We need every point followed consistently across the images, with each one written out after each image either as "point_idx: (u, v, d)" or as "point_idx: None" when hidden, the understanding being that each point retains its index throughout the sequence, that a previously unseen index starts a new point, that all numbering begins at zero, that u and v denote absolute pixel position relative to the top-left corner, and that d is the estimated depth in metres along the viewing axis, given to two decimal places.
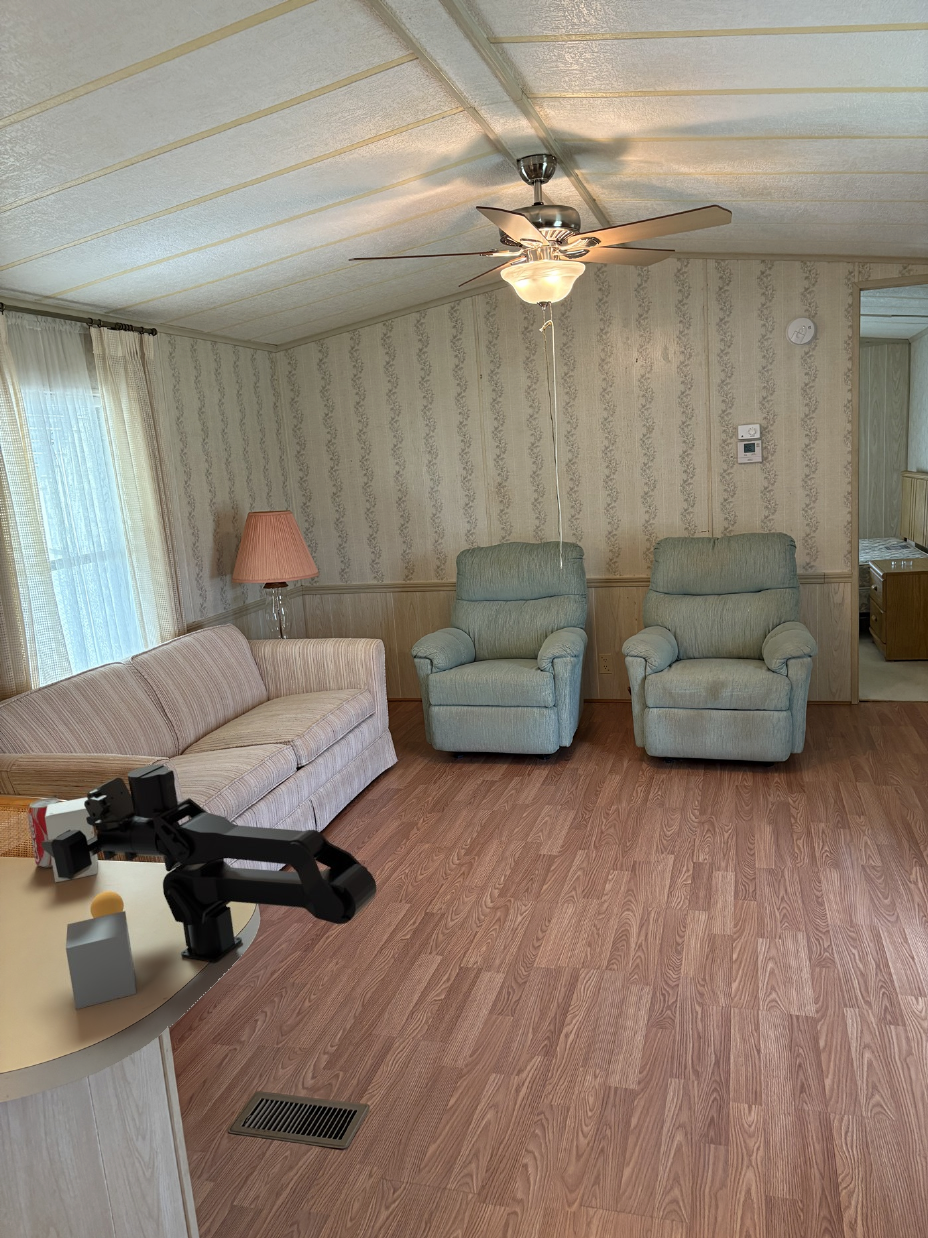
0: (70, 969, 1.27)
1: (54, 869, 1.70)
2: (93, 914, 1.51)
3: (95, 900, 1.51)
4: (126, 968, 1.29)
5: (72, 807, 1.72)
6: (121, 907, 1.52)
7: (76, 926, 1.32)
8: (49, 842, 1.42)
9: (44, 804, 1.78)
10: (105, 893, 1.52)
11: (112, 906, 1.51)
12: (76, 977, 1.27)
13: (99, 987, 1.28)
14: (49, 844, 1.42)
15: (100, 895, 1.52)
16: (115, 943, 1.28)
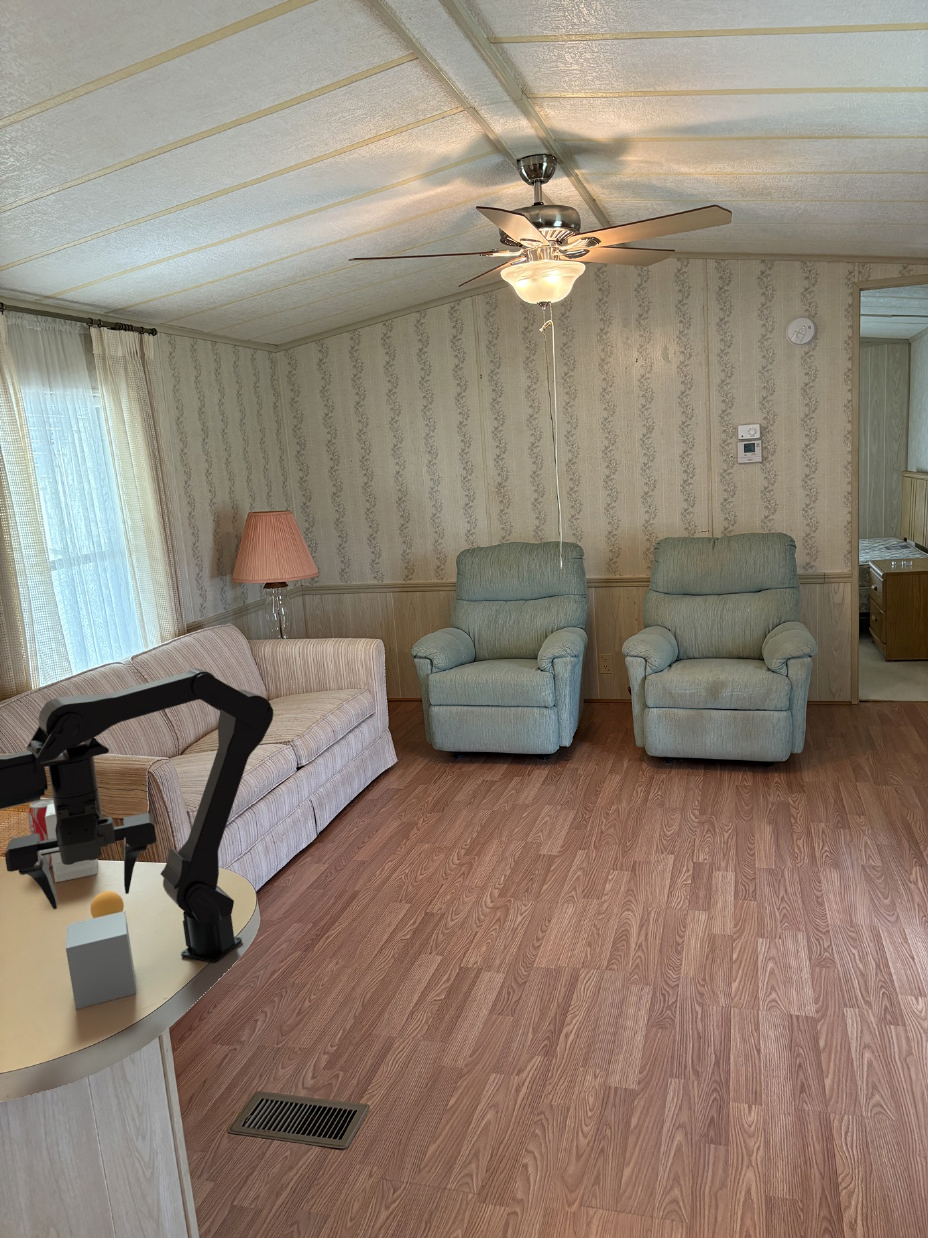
0: (70, 969, 1.27)
1: (54, 869, 1.70)
2: (93, 914, 1.51)
3: (95, 900, 1.51)
4: (126, 968, 1.29)
5: None
6: (121, 907, 1.52)
7: (76, 926, 1.32)
8: (131, 876, 1.31)
9: (44, 804, 1.78)
10: (105, 893, 1.52)
11: (112, 906, 1.51)
12: (76, 977, 1.27)
13: (99, 987, 1.28)
14: (131, 875, 1.31)
15: (100, 895, 1.52)
16: (115, 943, 1.28)
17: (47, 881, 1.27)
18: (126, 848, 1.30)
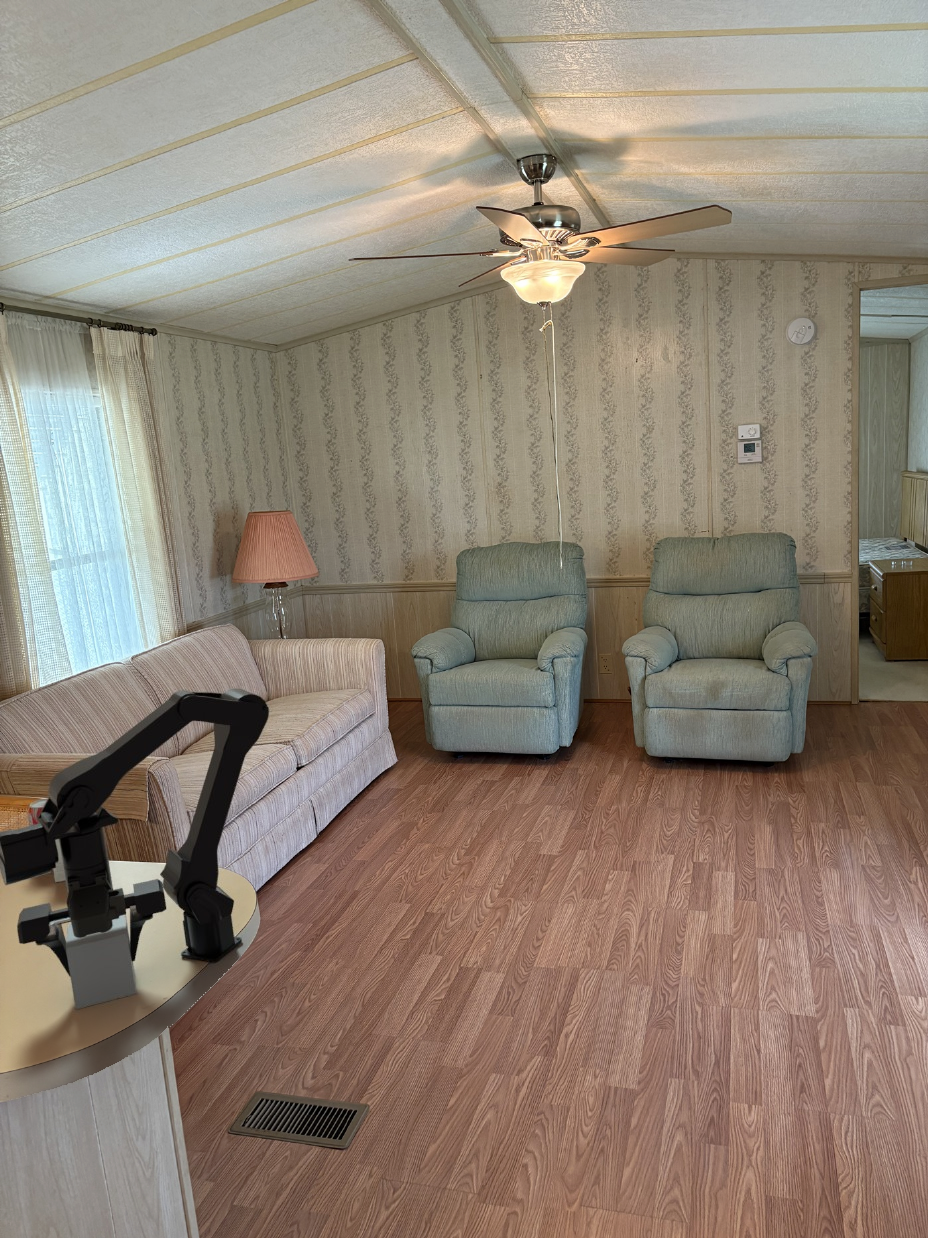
0: (70, 969, 1.27)
1: (54, 869, 1.70)
2: None
3: None
4: (126, 968, 1.29)
5: None
6: None
7: None
8: (137, 944, 1.32)
9: (44, 804, 1.78)
10: None
11: None
12: (76, 977, 1.27)
13: (99, 987, 1.28)
14: (137, 943, 1.33)
15: None
16: (115, 943, 1.28)
17: (63, 950, 1.29)
18: (132, 917, 1.31)
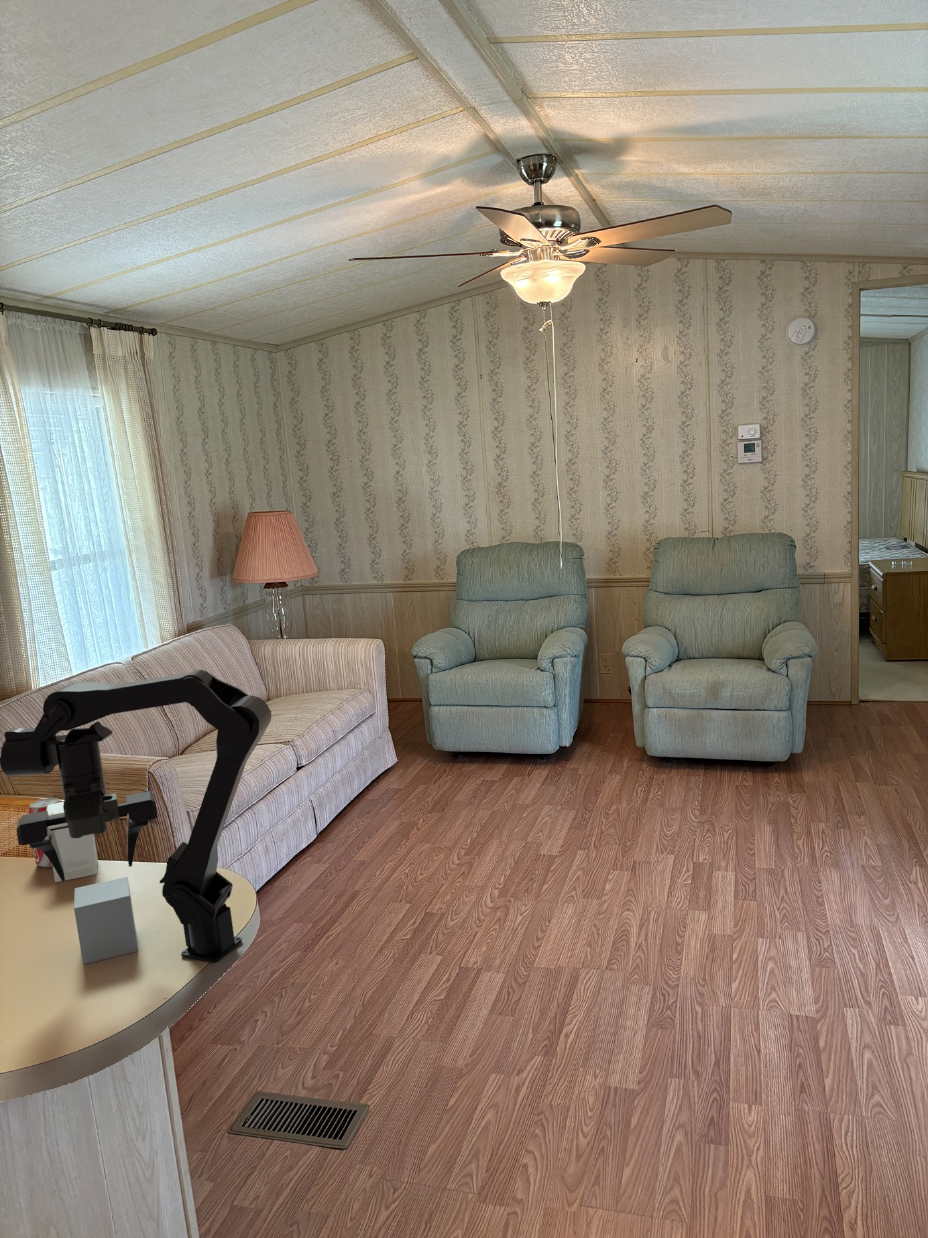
0: (78, 927, 1.39)
1: (54, 869, 1.70)
2: None
3: None
4: (128, 927, 1.42)
5: None
6: None
7: (83, 890, 1.45)
8: (134, 850, 1.41)
9: (44, 804, 1.78)
10: None
11: None
12: (83, 935, 1.39)
13: (104, 944, 1.41)
14: (134, 849, 1.41)
15: None
16: (119, 904, 1.41)
17: (56, 854, 1.36)
18: (129, 823, 1.39)
